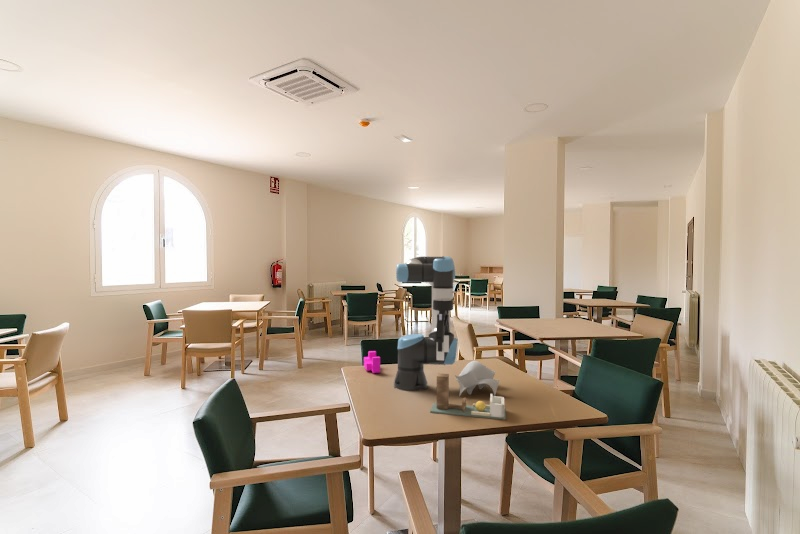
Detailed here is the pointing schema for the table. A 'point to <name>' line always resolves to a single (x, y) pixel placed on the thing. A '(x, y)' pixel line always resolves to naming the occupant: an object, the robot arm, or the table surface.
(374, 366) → the toy block
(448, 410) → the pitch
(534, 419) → the table surface
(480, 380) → the sculpture
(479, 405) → the ball
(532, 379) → the table surface
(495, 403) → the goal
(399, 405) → the table surface
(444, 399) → the tan l-shaped block
